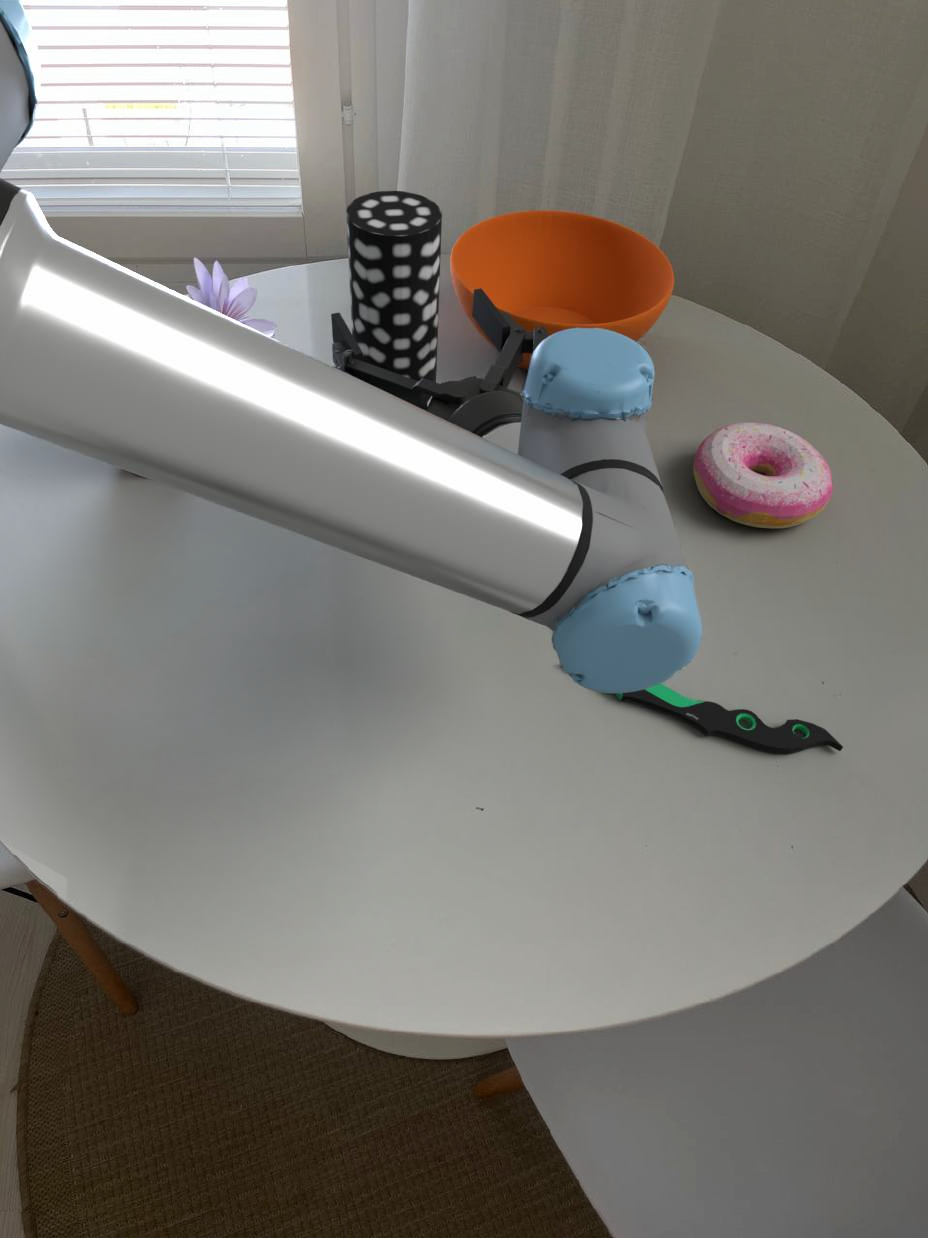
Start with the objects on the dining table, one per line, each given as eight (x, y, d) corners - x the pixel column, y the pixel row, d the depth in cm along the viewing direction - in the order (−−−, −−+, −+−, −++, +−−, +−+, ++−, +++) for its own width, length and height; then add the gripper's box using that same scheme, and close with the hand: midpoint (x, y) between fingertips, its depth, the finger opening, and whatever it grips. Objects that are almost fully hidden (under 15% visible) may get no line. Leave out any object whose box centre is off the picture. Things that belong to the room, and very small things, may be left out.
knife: (846, 736, 73) (833, 784, 70) (842, 741, 74) (829, 789, 71) (578, 627, 79) (556, 667, 76) (577, 633, 80) (555, 673, 77)
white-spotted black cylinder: (360, 430, 91) (352, 238, 76) (350, 381, 96) (340, 192, 81) (442, 423, 92) (450, 233, 77) (427, 375, 98) (432, 188, 82)
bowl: (659, 302, 116) (677, 225, 108) (650, 421, 100) (671, 341, 92) (466, 274, 118) (471, 197, 110) (427, 386, 102) (429, 305, 94)
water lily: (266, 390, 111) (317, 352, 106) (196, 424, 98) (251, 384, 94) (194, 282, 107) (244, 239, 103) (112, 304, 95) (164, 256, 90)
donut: (667, 458, 96) (679, 420, 92) (781, 443, 99) (796, 405, 95) (721, 547, 88) (736, 509, 84) (843, 528, 90) (863, 491, 86)
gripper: (350, 530, 69) (277, 374, 82) (633, 461, 77) (527, 327, 89) (346, 453, 64) (268, 298, 76) (652, 387, 71) (536, 254, 83)
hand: (407, 313), depth 82 cm, fingers open, 13 cm apart
